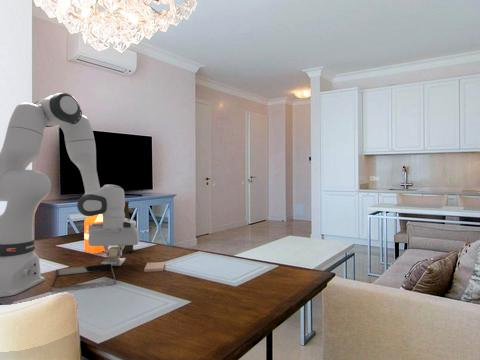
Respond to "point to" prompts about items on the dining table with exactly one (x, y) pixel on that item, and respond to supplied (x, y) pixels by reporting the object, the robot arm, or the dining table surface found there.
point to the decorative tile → (83, 270)
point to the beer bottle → (126, 211)
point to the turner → (113, 256)
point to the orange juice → (87, 223)
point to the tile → (154, 266)
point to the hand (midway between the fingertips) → (114, 255)
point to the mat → (120, 262)
